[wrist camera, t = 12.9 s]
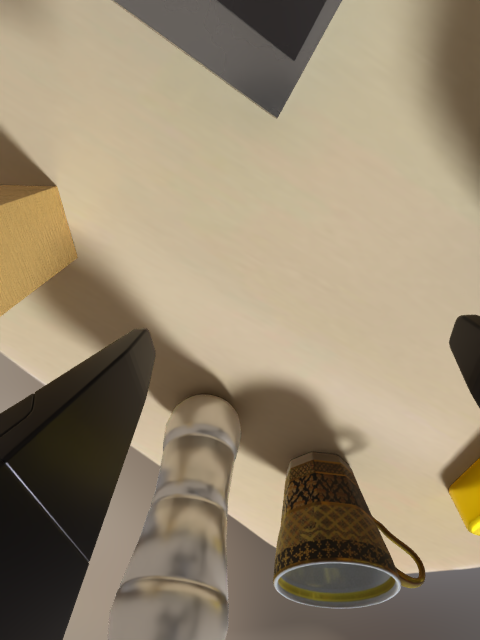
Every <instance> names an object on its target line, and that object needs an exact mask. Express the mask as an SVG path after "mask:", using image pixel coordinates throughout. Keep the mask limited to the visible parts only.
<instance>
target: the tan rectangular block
mask: <svg viewBox="0 0 480 640" xmlns="http://www.w3.org/2000/svg"><path fill="white" fill-rule="evenodd" d="M77 258H78V257H77V254H76V250H75V247H74V243H73V240H72V236H71V233H70V230H69V226H68V223H67V219H66V216H65V212H64V209H63V205H62V202H61V199H60V195H59V192H58V188H57V186H18V185H0V316H2V315H3V314H4V313H6V312H7V311H8V310H10V309H11V308H12V307H13V306H15V305H16V304H17V303H19V302H20V301H21V300H23V299H24V298H25V297H27V296H28V295H29V294H31V293H32V292H33V291H34V290H36V289H37V288H38V287H40V286H41V285H42V284H44V283H45V282H46V281H48V280H49V279H50V278H52V277H53V276H54V275H56V274H57V273H58V272H59V271H61V270H62V269H63V268H65V267H66V266H67V265H69V264H70V263H71V262H73V261H74V260H75V259H77Z"/></svg>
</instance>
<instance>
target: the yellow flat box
mask: <svg viewBox="0 0 480 640" xmlns="http://www.w3.org/2000/svg"><path fill="white" fill-rule="evenodd" d="M449 494H450V496H451V498H452V500H453V502H454V504H455V506H456V508H457V510H458V512H459V514H460V516H461V518H462V520H463V522H464V524H465V526H466V528H467V529H468V531H469V532H471V533H473V534H475V535H479V536H480V458H479V459H478V460H477V461H476V462H474V463H473V464H472V465H471V466H470V467H469V468H468V469H467V470H466V471H465V472H464V473H463V474H462V475H461V476H460V477H459V478H458V479H457V480H456V481H455V482H454V483H453V484H452V485H451V486H450V488H449Z"/></svg>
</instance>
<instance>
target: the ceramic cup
mask: <svg viewBox="0 0 480 640" xmlns="http://www.w3.org/2000/svg"><path fill="white" fill-rule="evenodd" d="M378 529H380V530H381V531H382V532H383V534H384V535H385V536H386V537H387V538H388V539H390V540H391V541H392V542H393V543H395V544H396V545H397V546H399V547H400V548H401V549H403V550H404V551H405V552H406V553H408V554H409V555H410V556H411V557H412V558H413V559H414V561H415V562H416V564H417V566H418V569H419V577H418V578H412V577H410V576H408V575H406V574H404V573H403V572H401V571H400V570H398V569H397V568H396V567H395V565H394V563H393V560H392V558H391V555H390V553H389V551H388V549H387V547H386V545H385V543H384V541H383V538H382V536H381V534H380V532H379V530H378ZM424 580H425V569H424V566H423V563H422V561H421V560H420V558H419V557H418V555H417V554H416V553H415V552H414V551H413V550H412V549H411V548H409V547H408V546H407V545H406V544H404V543H403V542H402V541H400V540H399V539H397V538H396V537H395V536H394V535H392V534H391V533H390V532H389V531H388V530H387V529H386V528H385V527H384V526H383V525H382V524H381V523H380V522H378V521H377V520H376V519H374V518H373V516H372V515H371V513H370V511H369V508H368V506H367V504H366V502H365V500H364V497H363V495H362V493H361V491H360V489H359V486H358V484H357V481H356V479H355V477H354V474H353V471H352V469H351V468H350V466H349V465H348V464H347V463H346V462H344V461H343V460H342V459H341V458H340V457H339V456H338V455H335V454H327V453H318V452H310V453H308V454H305V455H303V456H300V457H298V458H295V459H293V460H291V461H290V464H289V467H288V470H287V474H286V481H285V490H284V500H283V509H282V518H281V527H280V532H279V536H278V541H277V548H276V556H275V567H274V579H273V582H274V583H273V584H274V587H275V589H276V590H277V591H278V592H279V593H280V594H281V595H283V596H284V597H286V598H288V599H290V600H293V601H295V602H298V603H301V604H306V605H310V606H316V607H324V608H356V607H363V606H370V605H374V604H378V603H381V602H384V601H386V600H388V599H390V598H392V597H394V596H395V595H396V594H397V593H398V592H399V591H400V588H401V585H402V586H404V587H407V588H416V587H419V586H421V585H422V584H423V582H424Z"/></svg>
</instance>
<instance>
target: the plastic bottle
mask: <svg viewBox="0 0 480 640" xmlns="http://www.w3.org/2000/svg"><path fill="white" fill-rule="evenodd" d="M240 439H241V427H240V420H239V416H238V414H237V412H236V411H235V409H234V408H233V407H232V406H231V405H230V404H229V403H228V402H227V401H226V400H224V399H222V398H220V397H217V396H213V395H204V394H202V395H195V396H191V397H189V398H187V399H186V400H184V401H182V402H181V403H180V404H178V405H177V406H176V407H175V408H174V410H173V412H172V414H171V416H170V418H169V420H168V422H167V424H166V429H165V435H164V441H163V456H162V461H161V466H160V471H159V476H158V481H157V486H156V491H155V494H154V497H153V500H152V503H151V508H150V510H149V512H148V515H147V518H146V521H145V524H144V527H143V530H142V533H141V536H140V538H139V541H138V544H137V545H136V548H135V550H134V553H133V555H132V557H131V560H130V562H129V565H128V567H127V570H126V572H125V574H124V577H123V579H122V581H121V584H120V588H119V589H118V591H117V593H116V597H115V599H114V602H113V605H112V607H111V610H110V617H109V627H108V640H225V638H226V634H227V631H228V607H229V606H228V605H229V604H228V602H227V601H228V580H227V555H226V537H227V534H226V533H227V519H226V517H227V510H228V497H229V491H230V485H231V479H232V473H233V467H234V462H235V459H236V456H237V453H238V449H239V444H240Z"/></svg>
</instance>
